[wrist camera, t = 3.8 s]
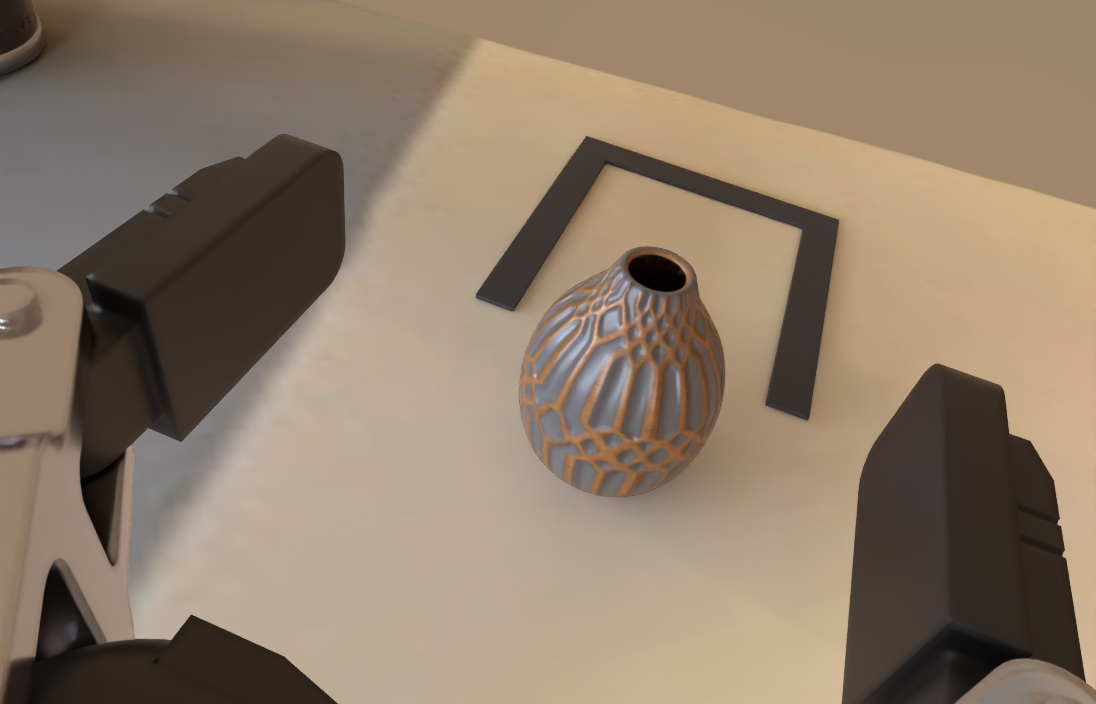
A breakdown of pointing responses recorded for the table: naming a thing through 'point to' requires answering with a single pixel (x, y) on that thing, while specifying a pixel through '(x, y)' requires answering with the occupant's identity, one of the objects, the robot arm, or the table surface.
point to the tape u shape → (819, 231)
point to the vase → (624, 377)
